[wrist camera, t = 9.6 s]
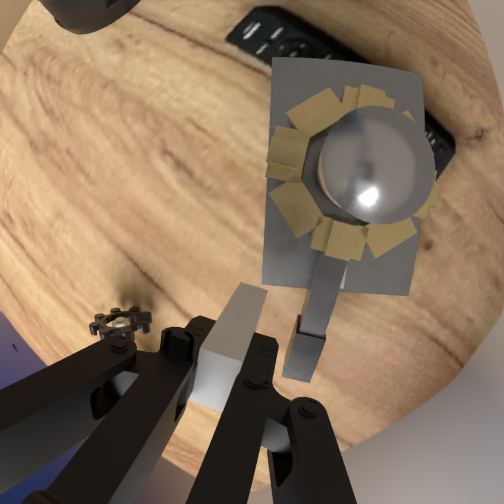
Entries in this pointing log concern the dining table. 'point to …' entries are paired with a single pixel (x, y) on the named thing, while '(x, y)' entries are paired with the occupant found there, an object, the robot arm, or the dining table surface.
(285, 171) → the grey bar gold ring
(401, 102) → the plate
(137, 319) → the valve
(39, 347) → the dining table surface
